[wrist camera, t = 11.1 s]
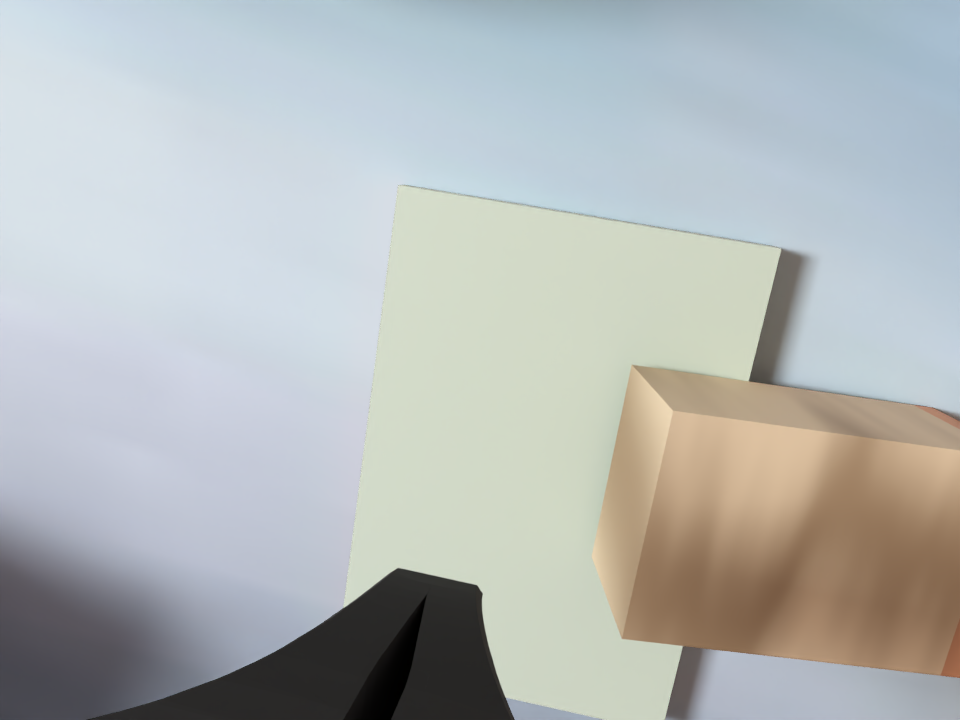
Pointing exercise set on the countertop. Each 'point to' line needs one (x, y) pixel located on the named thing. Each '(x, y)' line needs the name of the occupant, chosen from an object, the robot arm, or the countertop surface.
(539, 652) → the sage board
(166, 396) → the countertop surface
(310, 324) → the countertop surface
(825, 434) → the beech block
